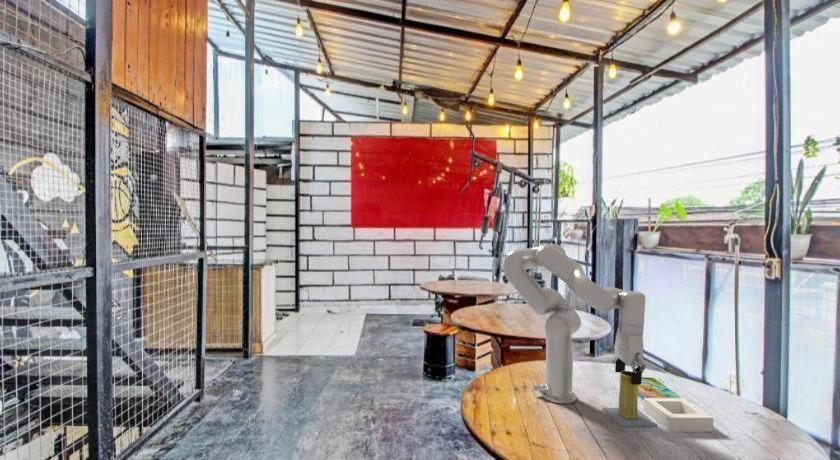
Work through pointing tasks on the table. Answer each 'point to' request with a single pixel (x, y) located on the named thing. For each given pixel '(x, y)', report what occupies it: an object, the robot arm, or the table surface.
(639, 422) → the mat
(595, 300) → the robot arm
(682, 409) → the well board
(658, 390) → the puzzle game
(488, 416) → the table surface
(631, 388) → the vase
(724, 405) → the table surface
